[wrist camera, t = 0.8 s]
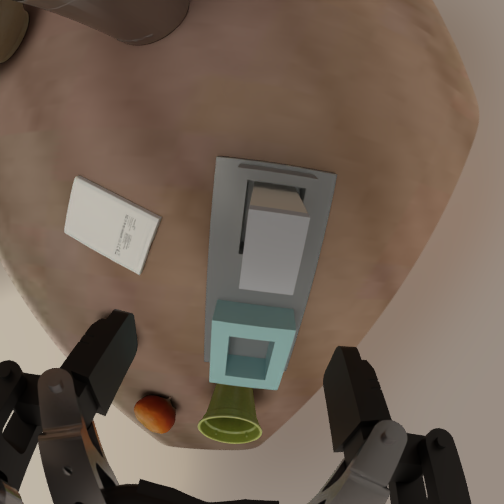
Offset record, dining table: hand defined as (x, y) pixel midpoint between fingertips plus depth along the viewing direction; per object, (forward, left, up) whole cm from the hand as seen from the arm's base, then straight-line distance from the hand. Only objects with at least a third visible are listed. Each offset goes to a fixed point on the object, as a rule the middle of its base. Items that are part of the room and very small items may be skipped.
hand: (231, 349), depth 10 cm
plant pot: (+30, +1, -21) cm, 37 cm away
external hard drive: (+4, -17, -21) cm, 28 cm away
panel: (+9, +2, -21) cm, 23 cm away
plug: (0, +2, -20) cm, 20 cm away
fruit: (+39, -13, -21) cm, 46 cm away
